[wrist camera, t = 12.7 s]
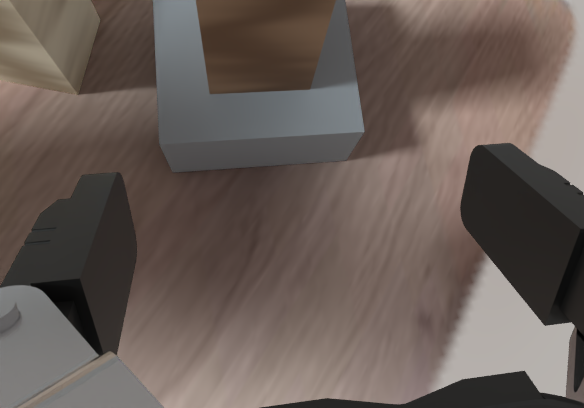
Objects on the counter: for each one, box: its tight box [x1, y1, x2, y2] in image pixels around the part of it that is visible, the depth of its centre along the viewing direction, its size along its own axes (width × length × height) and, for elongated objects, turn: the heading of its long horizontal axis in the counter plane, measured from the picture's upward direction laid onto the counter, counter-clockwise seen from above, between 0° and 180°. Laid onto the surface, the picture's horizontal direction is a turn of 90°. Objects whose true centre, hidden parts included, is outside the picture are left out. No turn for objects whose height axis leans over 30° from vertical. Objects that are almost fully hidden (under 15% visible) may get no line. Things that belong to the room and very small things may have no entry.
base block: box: [153, 0, 365, 173], centre depth 24 cm, size 9×9×4 cm
